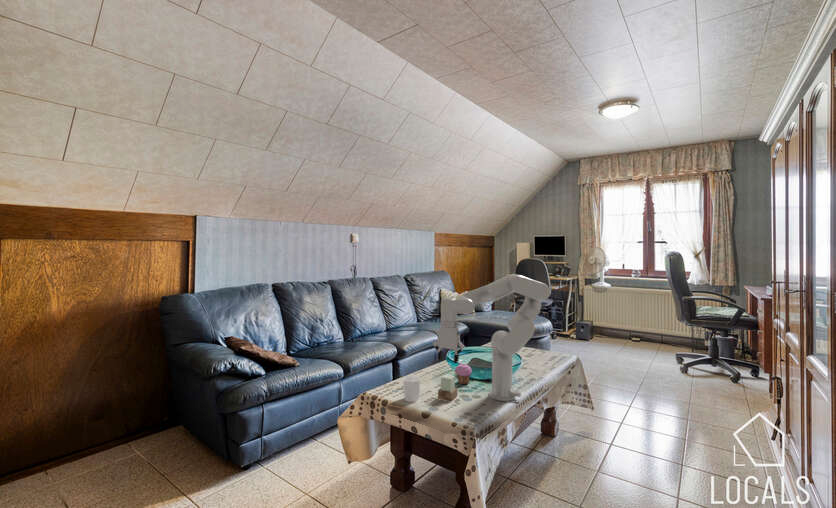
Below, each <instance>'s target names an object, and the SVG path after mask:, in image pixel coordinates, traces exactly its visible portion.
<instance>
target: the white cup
mask: <svg viewBox="0 0 836 508" xmlns="http://www.w3.org/2000/svg"><path fill="white" fill-rule="evenodd" d="M420 390H421V378H420V377H419V376H412V375H411V376H410V375H409V376H405V377H404V378H403V396H404V398H403V399H404V401H405V402H408V403H417V402H418V401H419V400H420V395H421V394H420V393H421V391H420Z"/></svg>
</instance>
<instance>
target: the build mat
mask: <svg viewBox="0 0 836 508" xmlns="http://www.w3.org/2000/svg"><path fill="white" fill-rule="evenodd" d="M459 397H460V396H459V395H457V397H456V398H455V399H454V400H453V401H447V400H442V399H438V397H437V398H435V399H436V400H439V401H444V402H449V403H454V402H455V401H456V400H457V399H458V398H459Z"/></svg>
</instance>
